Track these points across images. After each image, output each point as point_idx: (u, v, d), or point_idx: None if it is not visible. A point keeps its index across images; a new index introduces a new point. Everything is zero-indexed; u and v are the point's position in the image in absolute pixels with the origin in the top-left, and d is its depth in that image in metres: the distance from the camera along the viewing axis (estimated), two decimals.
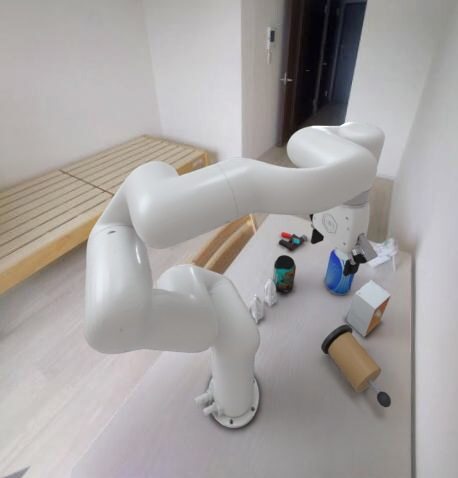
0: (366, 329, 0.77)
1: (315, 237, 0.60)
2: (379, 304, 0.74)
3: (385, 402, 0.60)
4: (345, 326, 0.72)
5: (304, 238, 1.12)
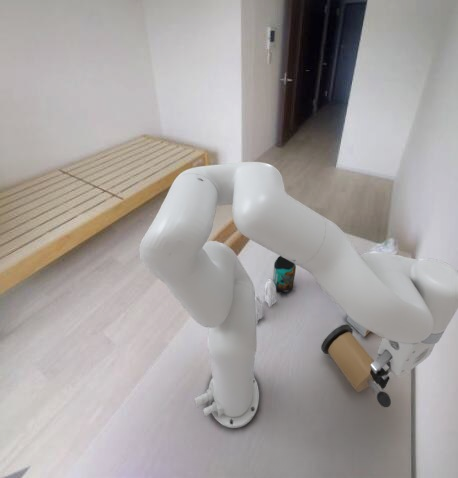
0: (366, 329, 0.77)
1: None
2: None
3: (385, 402, 0.60)
4: (345, 326, 0.72)
5: None
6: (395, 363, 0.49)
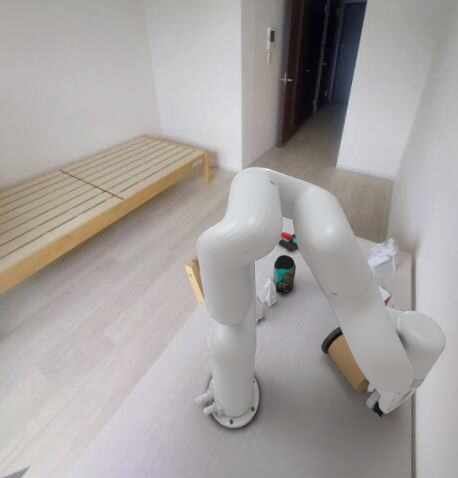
0: None
1: None
2: None
3: None
4: None
5: None
6: (381, 406, 0.56)
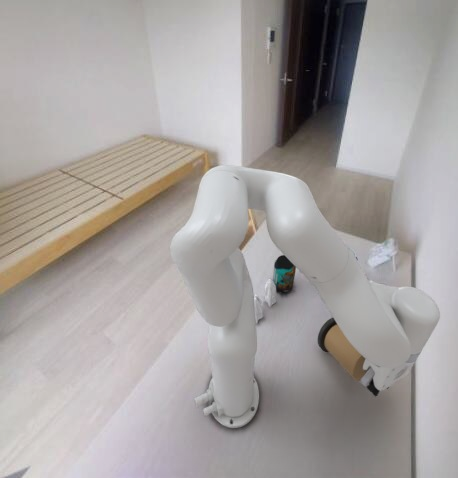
0: None
1: None
2: None
3: None
4: None
5: None
6: (375, 383, 0.56)
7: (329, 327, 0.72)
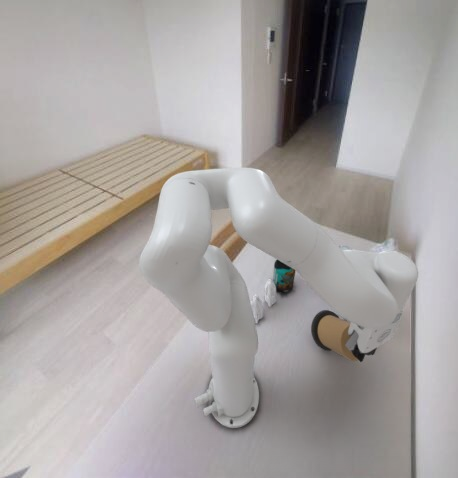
0: None
1: None
2: None
3: None
4: (327, 310, 0.78)
5: None
6: (359, 346, 0.58)
7: (320, 319, 0.76)
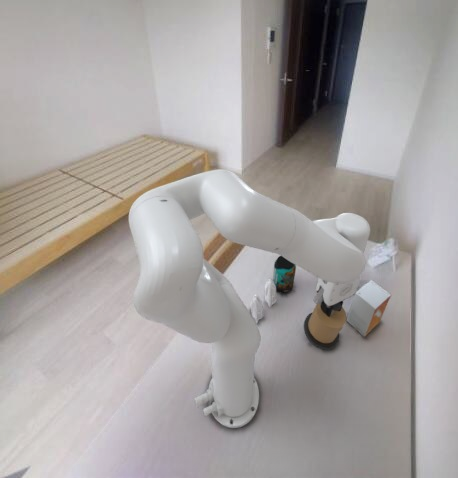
0: (366, 329, 0.77)
1: None
2: (379, 304, 0.74)
3: None
4: None
5: None
6: (325, 299, 0.66)
7: (309, 319, 0.81)
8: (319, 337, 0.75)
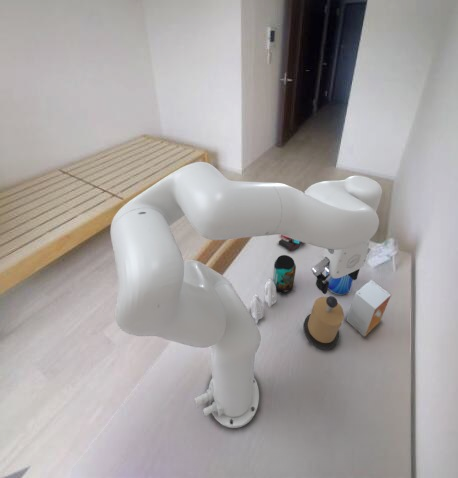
0: (366, 329, 0.77)
1: None
2: (379, 304, 0.74)
3: (328, 298, 0.72)
4: None
5: None
6: (331, 266, 0.60)
7: (309, 320, 0.81)
8: (318, 336, 0.75)
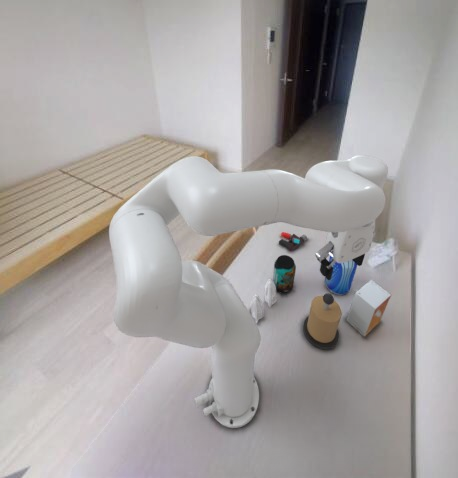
0: (366, 329, 0.77)
1: None
2: (379, 304, 0.74)
3: (324, 295, 0.73)
4: None
5: (304, 238, 1.12)
6: (336, 250, 0.58)
7: None
8: (317, 336, 0.75)
